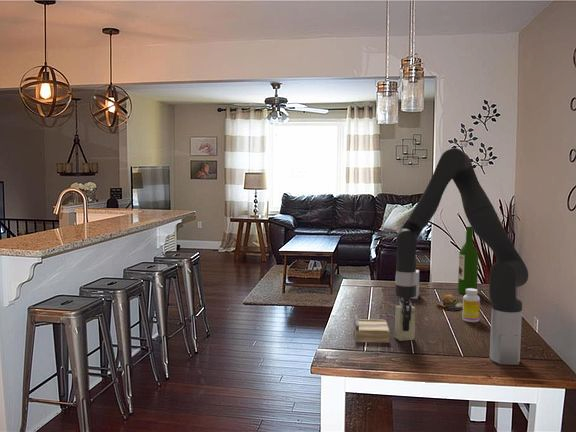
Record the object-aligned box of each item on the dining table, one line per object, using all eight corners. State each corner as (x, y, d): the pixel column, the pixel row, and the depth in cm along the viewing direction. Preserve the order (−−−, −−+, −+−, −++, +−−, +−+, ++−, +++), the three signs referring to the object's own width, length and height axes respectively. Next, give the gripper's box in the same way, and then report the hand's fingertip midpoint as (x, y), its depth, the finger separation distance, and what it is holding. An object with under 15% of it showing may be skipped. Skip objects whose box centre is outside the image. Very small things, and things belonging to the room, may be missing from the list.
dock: (389, 342, 197) (389, 326, 196) (355, 341, 198) (356, 325, 197) (385, 330, 211) (385, 315, 210) (354, 329, 212) (354, 314, 211)
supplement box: (417, 299, 258) (418, 272, 256) (401, 297, 260) (402, 271, 258) (419, 295, 265) (419, 269, 263) (403, 294, 267) (404, 268, 265)
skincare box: (399, 341, 199) (400, 308, 197) (393, 337, 203) (394, 305, 202) (415, 339, 200) (416, 307, 199) (409, 335, 205) (410, 304, 203)
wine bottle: (454, 291, 273) (456, 226, 269) (469, 289, 275) (471, 225, 272) (465, 295, 264) (467, 228, 261) (480, 294, 267) (483, 227, 263)
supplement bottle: (480, 323, 220) (481, 291, 219) (463, 322, 221) (464, 291, 220) (478, 318, 227) (479, 288, 225) (461, 317, 228) (462, 287, 227)
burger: (469, 309, 241) (470, 293, 240) (447, 312, 237) (448, 295, 236) (452, 302, 252) (452, 286, 251) (430, 305, 248) (431, 289, 247)
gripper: (419, 287, 192) (418, 334, 194) (413, 278, 206) (412, 322, 208) (397, 287, 193) (396, 334, 194) (393, 278, 207) (392, 322, 209)
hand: (404, 328), depth 201 cm, fingers closed on skincare box, 5 cm apart
